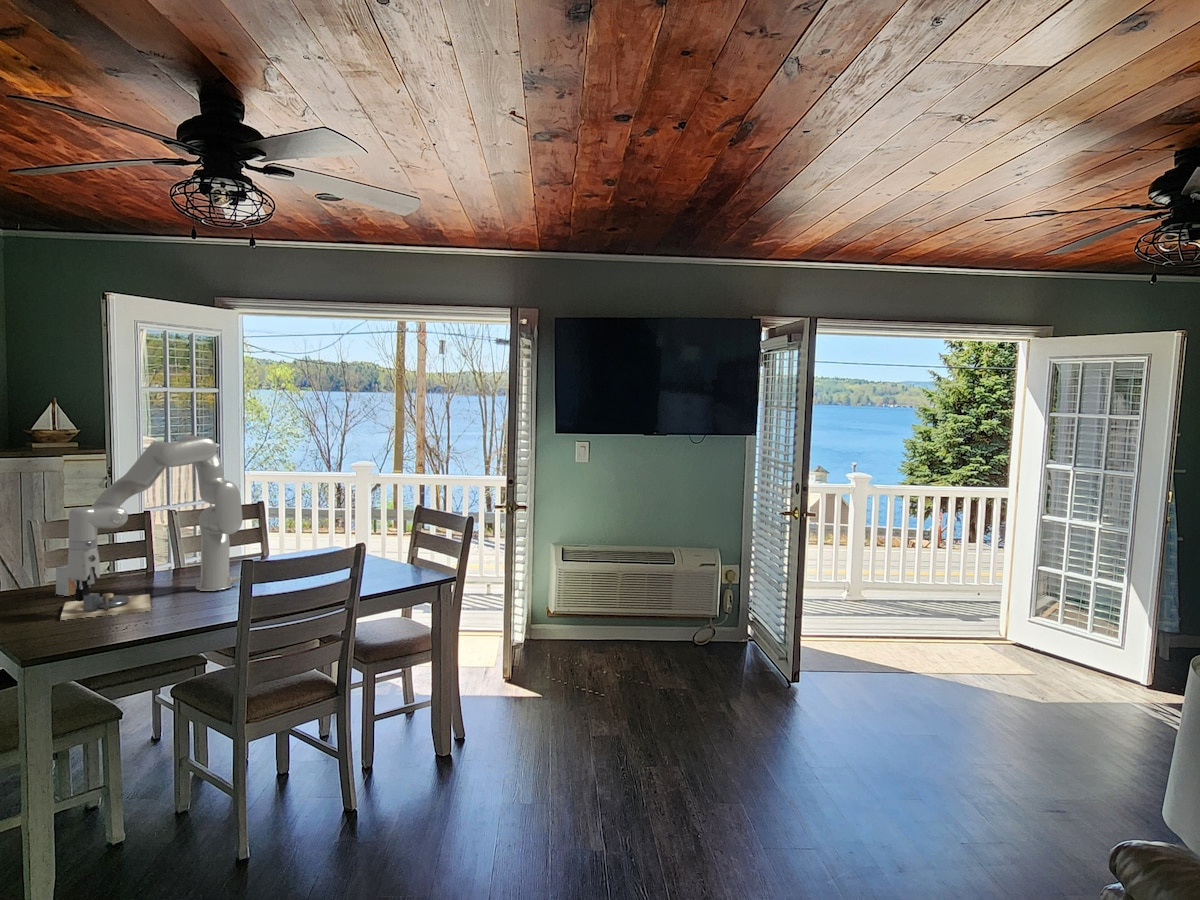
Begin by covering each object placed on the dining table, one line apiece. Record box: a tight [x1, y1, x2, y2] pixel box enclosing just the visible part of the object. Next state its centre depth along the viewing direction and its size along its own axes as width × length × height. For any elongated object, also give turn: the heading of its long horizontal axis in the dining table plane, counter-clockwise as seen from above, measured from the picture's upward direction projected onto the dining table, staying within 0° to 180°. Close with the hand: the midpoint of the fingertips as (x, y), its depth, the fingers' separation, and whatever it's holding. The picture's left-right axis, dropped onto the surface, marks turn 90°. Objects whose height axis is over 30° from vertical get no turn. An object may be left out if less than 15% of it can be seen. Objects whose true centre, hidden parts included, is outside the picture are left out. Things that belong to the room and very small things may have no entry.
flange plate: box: [83, 592, 129, 611], centre depth 230 cm, size 15×12×5 cm
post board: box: [60, 592, 152, 621], centre depth 232 cm, size 24×18×6 cm
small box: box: [55, 565, 76, 597], centre depth 247 cm, size 8×6×10 cm
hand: (82, 600), depth 225 cm, fingers closed
